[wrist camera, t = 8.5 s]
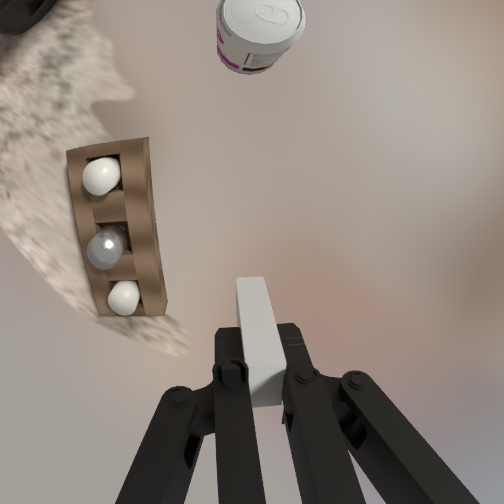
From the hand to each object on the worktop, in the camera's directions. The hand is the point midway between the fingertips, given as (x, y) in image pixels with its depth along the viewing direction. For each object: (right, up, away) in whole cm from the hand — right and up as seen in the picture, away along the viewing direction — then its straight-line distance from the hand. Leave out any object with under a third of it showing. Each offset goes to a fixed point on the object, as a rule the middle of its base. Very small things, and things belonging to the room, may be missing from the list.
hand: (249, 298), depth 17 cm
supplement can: (0, +30, +16) cm, 34 cm away
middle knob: (-19, +4, +21) cm, 28 cm away
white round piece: (-19, +13, +19) cm, 30 cm away
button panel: (-19, +6, +25) cm, 32 cm away
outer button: (-19, -3, +27) cm, 33 cm away
